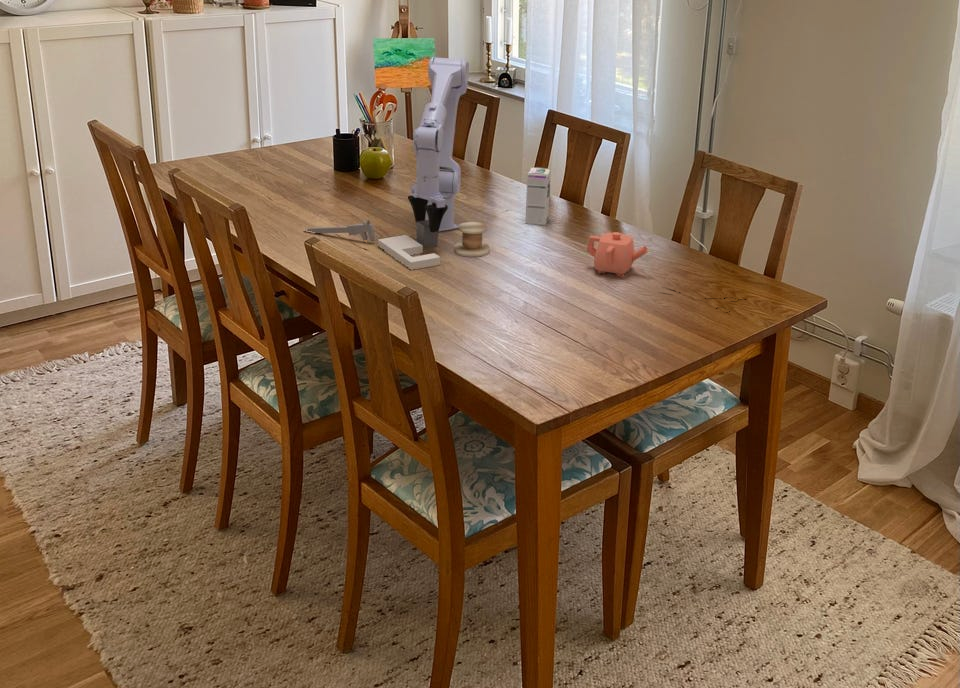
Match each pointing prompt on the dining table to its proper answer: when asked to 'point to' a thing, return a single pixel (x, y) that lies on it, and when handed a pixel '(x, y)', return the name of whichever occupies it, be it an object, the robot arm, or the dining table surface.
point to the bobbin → (472, 240)
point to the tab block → (426, 235)
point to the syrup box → (538, 196)
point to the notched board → (408, 252)
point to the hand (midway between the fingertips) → (427, 227)
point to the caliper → (349, 230)
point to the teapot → (614, 252)
